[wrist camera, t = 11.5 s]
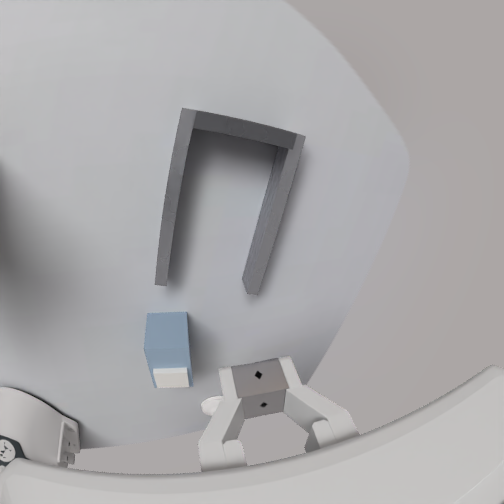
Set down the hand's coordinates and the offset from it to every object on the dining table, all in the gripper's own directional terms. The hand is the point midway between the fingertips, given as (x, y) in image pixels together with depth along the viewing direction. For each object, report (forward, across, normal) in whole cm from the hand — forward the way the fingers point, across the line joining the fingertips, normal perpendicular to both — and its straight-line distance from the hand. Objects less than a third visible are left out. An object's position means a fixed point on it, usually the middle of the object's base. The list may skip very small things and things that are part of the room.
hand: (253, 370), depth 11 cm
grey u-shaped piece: (+15, 0, -2) cm, 15 cm away
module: (+15, +6, +12) cm, 20 cm away
